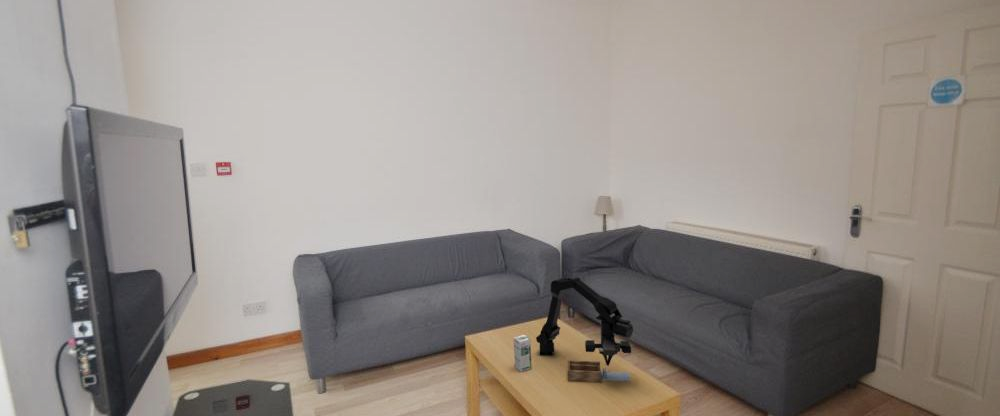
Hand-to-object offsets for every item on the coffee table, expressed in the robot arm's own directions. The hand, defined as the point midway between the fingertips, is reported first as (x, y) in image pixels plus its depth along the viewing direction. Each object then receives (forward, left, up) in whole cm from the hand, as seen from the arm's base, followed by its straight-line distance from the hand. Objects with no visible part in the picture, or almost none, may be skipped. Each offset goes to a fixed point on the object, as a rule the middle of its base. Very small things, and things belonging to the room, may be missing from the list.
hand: (607, 365), depth 191 cm
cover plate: (+3, +1, -6) cm, 7 cm away
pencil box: (-10, 0, -6) cm, 11 cm away
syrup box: (-37, +5, -6) cm, 38 cm away
